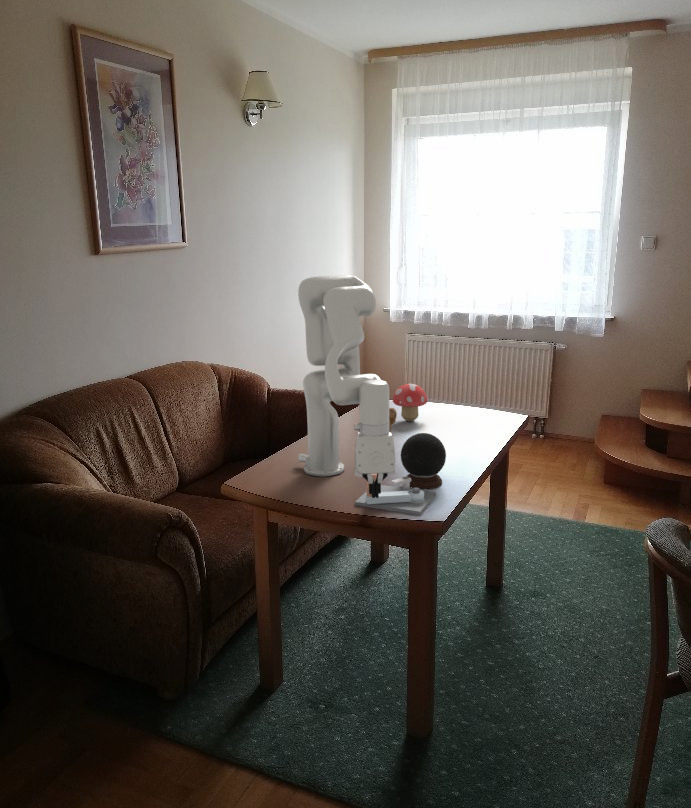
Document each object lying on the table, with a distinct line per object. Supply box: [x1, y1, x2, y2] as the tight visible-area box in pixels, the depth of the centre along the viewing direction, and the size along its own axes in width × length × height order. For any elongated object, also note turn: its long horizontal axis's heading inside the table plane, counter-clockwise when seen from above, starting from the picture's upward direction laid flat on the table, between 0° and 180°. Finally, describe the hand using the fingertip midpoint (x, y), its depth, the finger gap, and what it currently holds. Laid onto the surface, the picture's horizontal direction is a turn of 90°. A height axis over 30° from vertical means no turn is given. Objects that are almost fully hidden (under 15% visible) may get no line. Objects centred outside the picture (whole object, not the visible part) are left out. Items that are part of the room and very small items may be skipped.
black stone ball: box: [400, 432, 447, 490], centre depth 198 cm, size 13×13×15 cm
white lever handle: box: [365, 474, 425, 504], centre depth 182 cm, size 16×4×8 cm, turn 96°
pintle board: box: [354, 475, 437, 516], centre depth 186 cm, size 18×14×5 cm
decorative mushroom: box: [392, 383, 428, 422], centre depth 263 cm, size 13×13×15 cm
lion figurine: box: [389, 407, 398, 434], centre depth 248 cm, size 15×5×9 cm, turn 126°
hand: (374, 496), depth 176 cm, fingers closed
